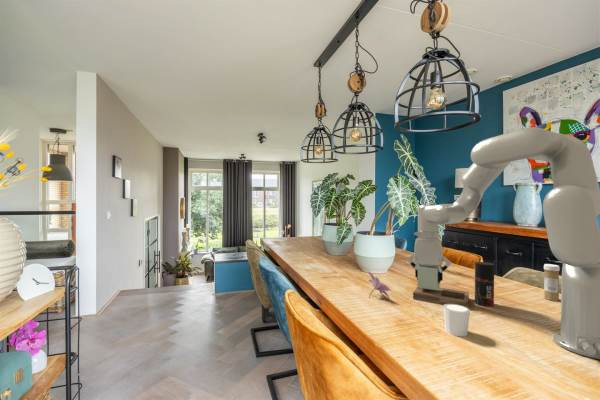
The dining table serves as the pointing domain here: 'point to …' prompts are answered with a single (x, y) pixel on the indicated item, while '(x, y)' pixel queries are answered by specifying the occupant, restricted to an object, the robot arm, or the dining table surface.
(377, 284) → the lily
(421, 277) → the green block
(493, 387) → the dining table surface
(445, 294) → the board
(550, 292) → the sprinkles bottle
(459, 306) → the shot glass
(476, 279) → the deodorant
